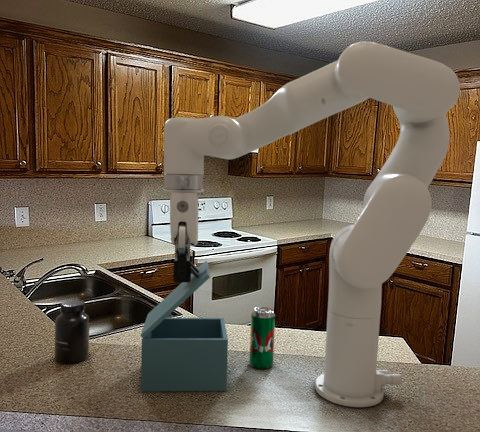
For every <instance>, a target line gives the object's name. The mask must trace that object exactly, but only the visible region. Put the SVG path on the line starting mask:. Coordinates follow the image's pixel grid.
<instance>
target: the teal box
mask: <svg viewBox="0 0 480 432" xmlns="http://www.w3.org/2000/svg"><path fill="white" fill-rule="evenodd" d="M228 347H229V337H228V333H227V327H226V322H225V318H224V317H166V318H165V319H164V320H163V321H162V322H161V323H160V324H159V325H158V326H157V327H156V328H154V329H153V330H152V331H151V332H150V333H149V334H148V335H147V336H146V337H145V338H142V337H141V359H140V361H141V363H140V364H141V365H140V366H141V367H140V392H141V393H142V392H223V391H224V392H227V381H228V379H227V375H228V352H229V351H228Z"/></svg>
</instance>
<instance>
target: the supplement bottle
mask: <svg viewBox="0 0 480 432" xmlns="http://www.w3.org/2000/svg"><path fill="white" fill-rule="evenodd" d="M59 312H60V314H59V315H58V316H56V318H55V321H54V359H55V361H57V363H60V364H69V365H70V364H77V363H80V362H83V361H86V359H87V358H88V357H89V354H90V353H89V352H90V317H89V315H88V314H87V313H85V312H86V302H85V301H84V300H81V299H69V300H64V301H62V302H60V310H59Z"/></svg>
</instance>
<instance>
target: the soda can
mask: <svg viewBox="0 0 480 432" xmlns="http://www.w3.org/2000/svg"><path fill="white" fill-rule="evenodd" d="M252 309H253V310H252V312H251V314H250V335H249V364H250V365H251V367H253V368H255V369H258V370H266V369H269V368H271V367H272V366H273V365H274V355H275V333H276V332H275V331H276V314H275V310H274V309H273V308H271V307H267V306H258V307H254V308H252Z"/></svg>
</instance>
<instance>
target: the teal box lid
mask: <svg viewBox="0 0 480 432" xmlns="http://www.w3.org/2000/svg"><path fill="white" fill-rule="evenodd" d="M209 266H210V265H209V262H208V261H207V260H205V261H203V263H202V264H200V265H199V266H198V267H197V266H195V264H194V263H193V262H191V281H190V282H180V284H179V285H178V286H177V287H175V288H174V289H173V290H172V291H171V292H170V293H169V294H168V295H167V296H166V297H164V298H163V299H162V300H161V301H160V302H159V303H158V304H157V305H155V306H154V308H152V309H151V310H150V311H149V312H148V313H147V315H146V317H145V322H144V325H143V327H142V330H141V333H140V337H141V339H142V338H145V337H146V336H147V335H148V334H149V333H150V332H151V331H152V330H153V329H154V328H156V327H157V326H158V325H159V324H160V323H161V322H162V321H163V320H164V319H165V318H169V316H170V315H171V314H172V313H173V312H174V311H176V310H177V308H178V307H180V306H181V305H182V304H183V303H184V302H185V301H187V299H189V297H191V296H192V295H193V294H195V292H196V291H197V290H198V289H199V288H200V287H201V286H203V285H204V284H205V283H206V282H207V281H208V280H209V279H210V278H211V274H210V273H211V272H210V267H209Z"/></svg>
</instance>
